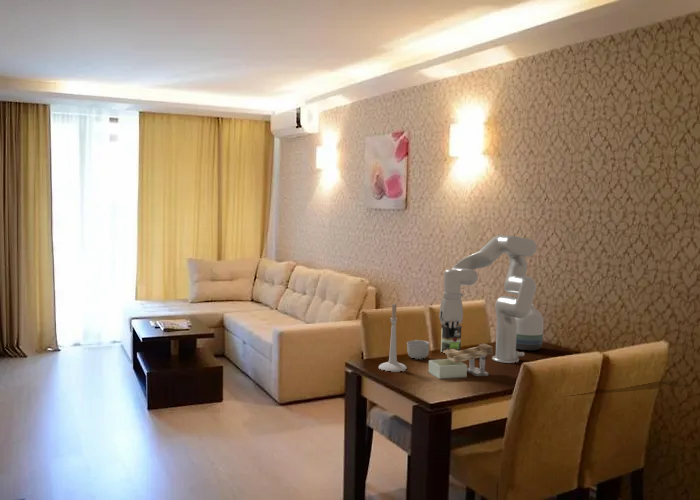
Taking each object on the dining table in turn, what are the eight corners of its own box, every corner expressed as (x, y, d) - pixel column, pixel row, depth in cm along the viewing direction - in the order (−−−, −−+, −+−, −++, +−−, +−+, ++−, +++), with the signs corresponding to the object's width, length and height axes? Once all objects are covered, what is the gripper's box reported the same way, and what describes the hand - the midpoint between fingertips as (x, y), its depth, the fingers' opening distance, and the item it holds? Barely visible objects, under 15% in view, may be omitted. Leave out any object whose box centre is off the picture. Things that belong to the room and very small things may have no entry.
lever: (476, 347, 275) (475, 339, 275) (493, 354, 261) (492, 346, 261) (439, 354, 270) (438, 347, 270) (454, 362, 255) (454, 355, 255)
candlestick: (411, 371, 264) (412, 304, 262) (384, 372, 260) (385, 305, 259) (400, 364, 276) (402, 300, 274) (374, 365, 272) (376, 301, 271)
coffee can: (464, 354, 298) (465, 327, 298) (445, 355, 296) (446, 327, 295) (455, 350, 308) (456, 323, 308) (437, 350, 306) (438, 323, 305)
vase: (504, 345, 322) (506, 302, 321) (534, 345, 324) (535, 302, 322) (516, 352, 305) (518, 306, 304) (547, 352, 307) (549, 306, 306)
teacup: (427, 361, 282) (428, 345, 282) (405, 360, 285) (405, 343, 284) (429, 355, 296) (430, 339, 296) (408, 353, 298) (408, 338, 298)
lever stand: (476, 369, 269) (476, 349, 269) (489, 375, 259) (489, 355, 258) (464, 370, 268) (465, 350, 267) (477, 376, 257) (477, 356, 256)
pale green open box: (454, 370, 266) (455, 358, 266) (466, 377, 255) (467, 364, 255) (428, 372, 262) (428, 360, 262) (439, 379, 252) (439, 366, 251)
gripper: (462, 294, 274) (461, 333, 275) (433, 295, 269) (432, 335, 270) (470, 297, 267) (469, 337, 268) (440, 298, 262) (439, 338, 263)
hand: (451, 336), depth 269 cm, fingers closed
